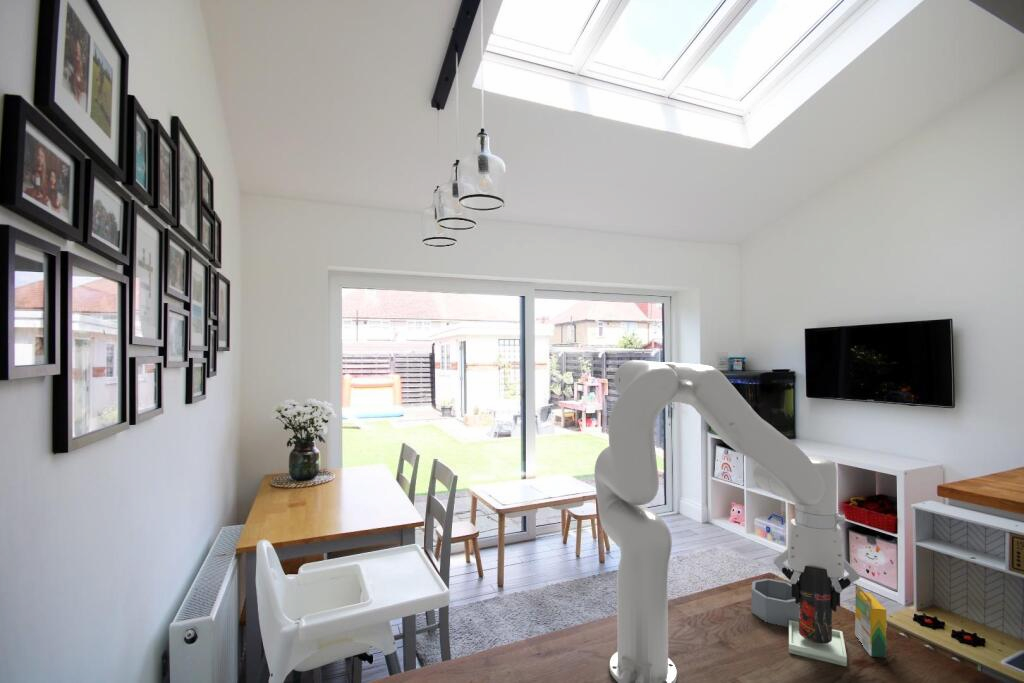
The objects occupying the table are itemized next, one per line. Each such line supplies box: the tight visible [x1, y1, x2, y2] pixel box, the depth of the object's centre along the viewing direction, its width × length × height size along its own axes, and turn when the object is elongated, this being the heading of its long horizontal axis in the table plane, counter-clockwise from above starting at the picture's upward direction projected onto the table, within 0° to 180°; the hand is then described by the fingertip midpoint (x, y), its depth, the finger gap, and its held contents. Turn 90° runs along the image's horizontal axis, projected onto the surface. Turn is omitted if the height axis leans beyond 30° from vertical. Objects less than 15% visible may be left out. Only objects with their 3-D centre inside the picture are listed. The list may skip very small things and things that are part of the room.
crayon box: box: [854, 582, 887, 658], centre depth 109 cm, size 7×3×12 cm, turn 168°
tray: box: [788, 620, 848, 667], centre depth 109 cm, size 10×10×2 cm
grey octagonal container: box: [751, 578, 799, 628], centre depth 122 cm, size 10×10×6 cm
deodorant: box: [798, 566, 833, 644], centre depth 109 cm, size 6×6×15 cm
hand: (815, 603), depth 109 cm, fingers closed on deodorant, 6 cm apart
